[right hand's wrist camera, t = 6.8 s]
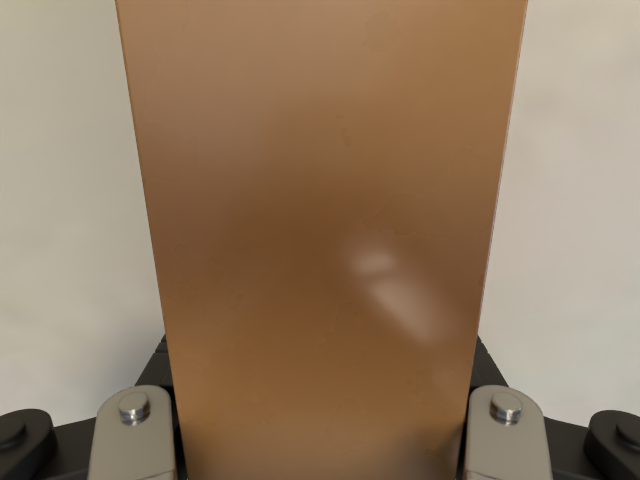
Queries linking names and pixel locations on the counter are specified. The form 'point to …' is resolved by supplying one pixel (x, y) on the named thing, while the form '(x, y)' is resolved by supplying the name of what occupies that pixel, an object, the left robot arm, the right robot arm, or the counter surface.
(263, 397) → the post
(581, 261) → the counter surface
